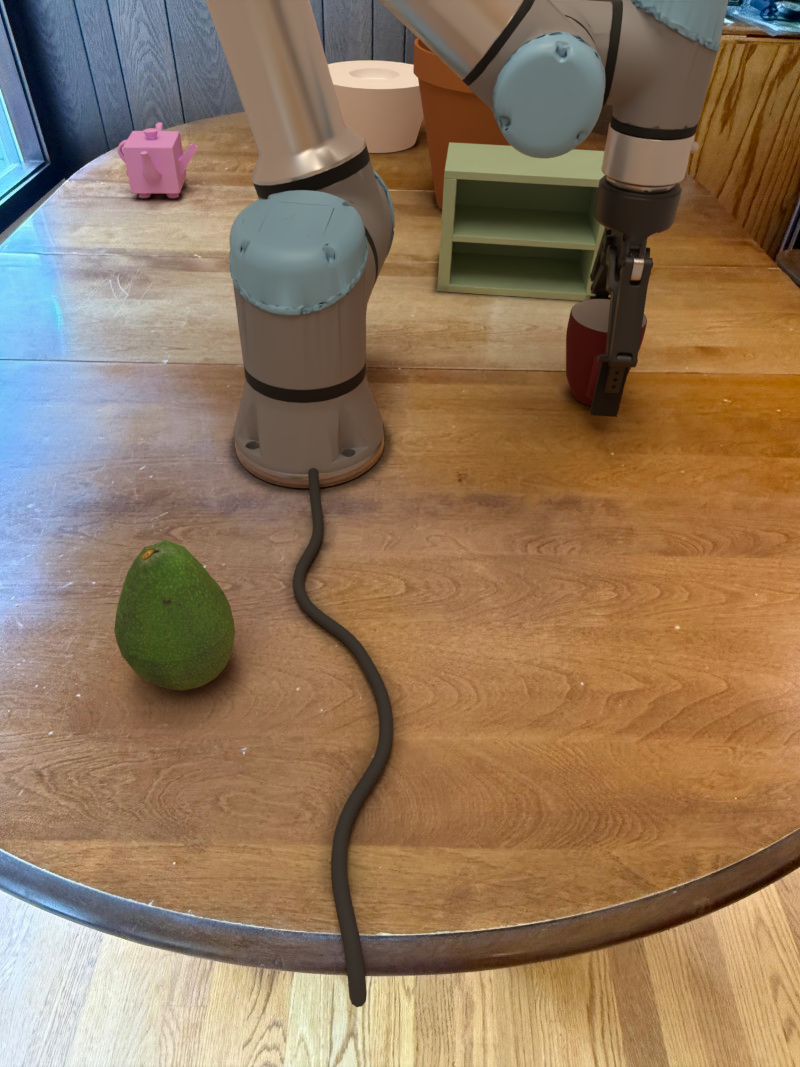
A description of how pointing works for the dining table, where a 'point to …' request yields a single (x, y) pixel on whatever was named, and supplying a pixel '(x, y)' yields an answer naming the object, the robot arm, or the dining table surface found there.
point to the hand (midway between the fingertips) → (597, 380)
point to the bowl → (379, 102)
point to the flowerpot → (450, 113)
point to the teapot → (155, 161)
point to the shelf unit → (519, 222)
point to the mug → (587, 345)
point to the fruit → (173, 619)
